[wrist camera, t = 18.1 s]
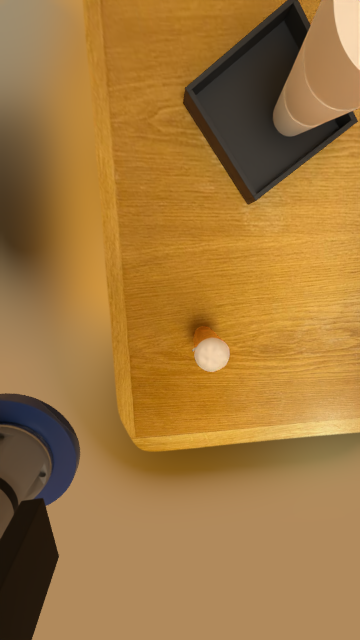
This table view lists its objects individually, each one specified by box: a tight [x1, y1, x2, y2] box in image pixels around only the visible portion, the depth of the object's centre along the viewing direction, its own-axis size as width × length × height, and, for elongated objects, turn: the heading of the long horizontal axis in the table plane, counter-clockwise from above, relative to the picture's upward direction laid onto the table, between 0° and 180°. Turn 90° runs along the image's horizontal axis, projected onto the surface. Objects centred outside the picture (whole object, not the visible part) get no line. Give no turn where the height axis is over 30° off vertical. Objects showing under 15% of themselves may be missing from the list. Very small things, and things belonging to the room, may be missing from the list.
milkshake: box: [192, 326, 230, 372], centre depth 39 cm, size 4×5×10 cm
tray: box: [183, 0, 358, 204], centre depth 35 cm, size 15×15×4 cm
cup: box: [273, 0, 360, 137], centre depth 27 cm, size 11×11×18 cm
